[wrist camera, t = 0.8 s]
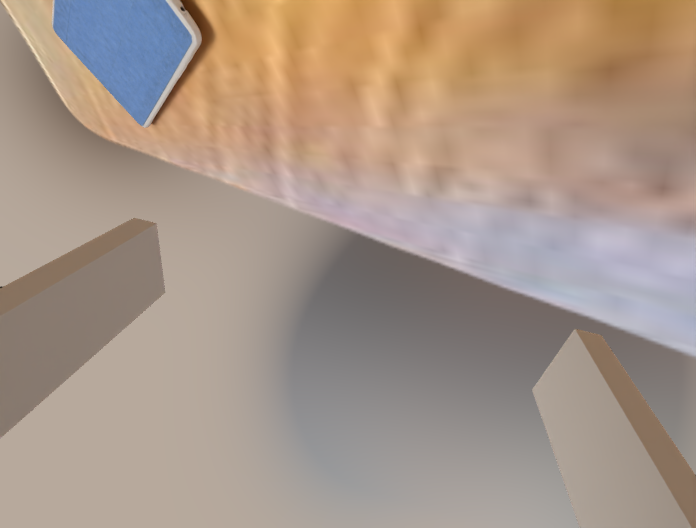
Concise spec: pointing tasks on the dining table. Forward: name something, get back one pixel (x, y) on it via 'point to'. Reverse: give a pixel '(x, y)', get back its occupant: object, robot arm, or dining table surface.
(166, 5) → the tablet computer
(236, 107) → the dining table surface
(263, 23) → the dining table surface
